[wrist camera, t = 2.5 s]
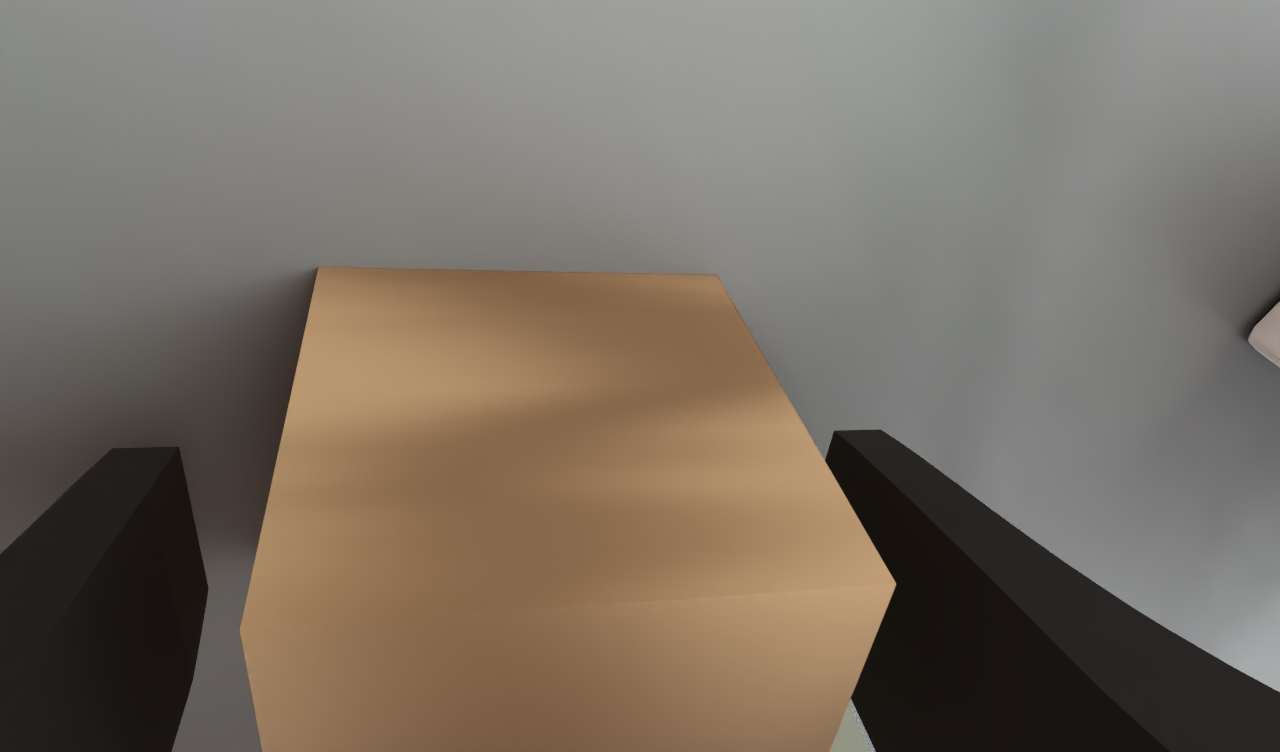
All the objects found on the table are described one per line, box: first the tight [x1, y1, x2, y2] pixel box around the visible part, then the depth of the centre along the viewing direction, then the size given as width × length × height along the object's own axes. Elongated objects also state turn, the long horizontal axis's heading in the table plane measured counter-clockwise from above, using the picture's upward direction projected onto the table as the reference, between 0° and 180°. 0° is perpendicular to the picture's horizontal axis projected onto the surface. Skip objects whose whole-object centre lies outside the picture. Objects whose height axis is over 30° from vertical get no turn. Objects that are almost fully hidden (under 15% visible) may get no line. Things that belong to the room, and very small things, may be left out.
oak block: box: [240, 267, 896, 752], centre depth 9 cm, size 4×4×5 cm
